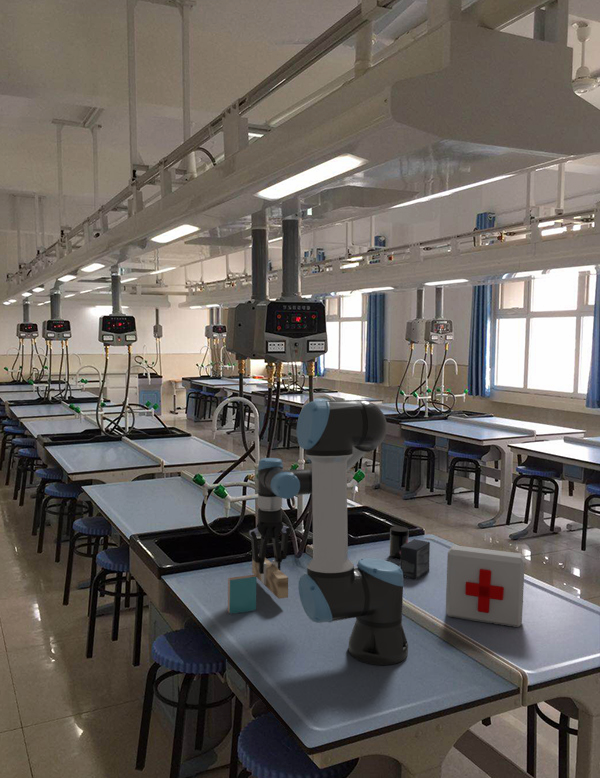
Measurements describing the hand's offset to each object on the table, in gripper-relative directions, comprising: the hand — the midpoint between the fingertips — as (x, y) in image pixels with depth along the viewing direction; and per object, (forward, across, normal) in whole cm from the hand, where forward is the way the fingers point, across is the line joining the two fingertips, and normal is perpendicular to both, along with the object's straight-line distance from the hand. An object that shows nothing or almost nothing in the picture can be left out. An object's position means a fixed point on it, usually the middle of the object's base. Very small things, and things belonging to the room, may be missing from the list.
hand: (269, 582), depth 205 cm
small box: (+4, -53, 0) cm, 53 cm away
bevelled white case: (+5, -51, +39) cm, 65 cm away
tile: (-1, +12, +10) cm, 15 cm away
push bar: (+1, 0, 0) cm, 1 cm away
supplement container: (+3, -57, -17) cm, 59 cm away
